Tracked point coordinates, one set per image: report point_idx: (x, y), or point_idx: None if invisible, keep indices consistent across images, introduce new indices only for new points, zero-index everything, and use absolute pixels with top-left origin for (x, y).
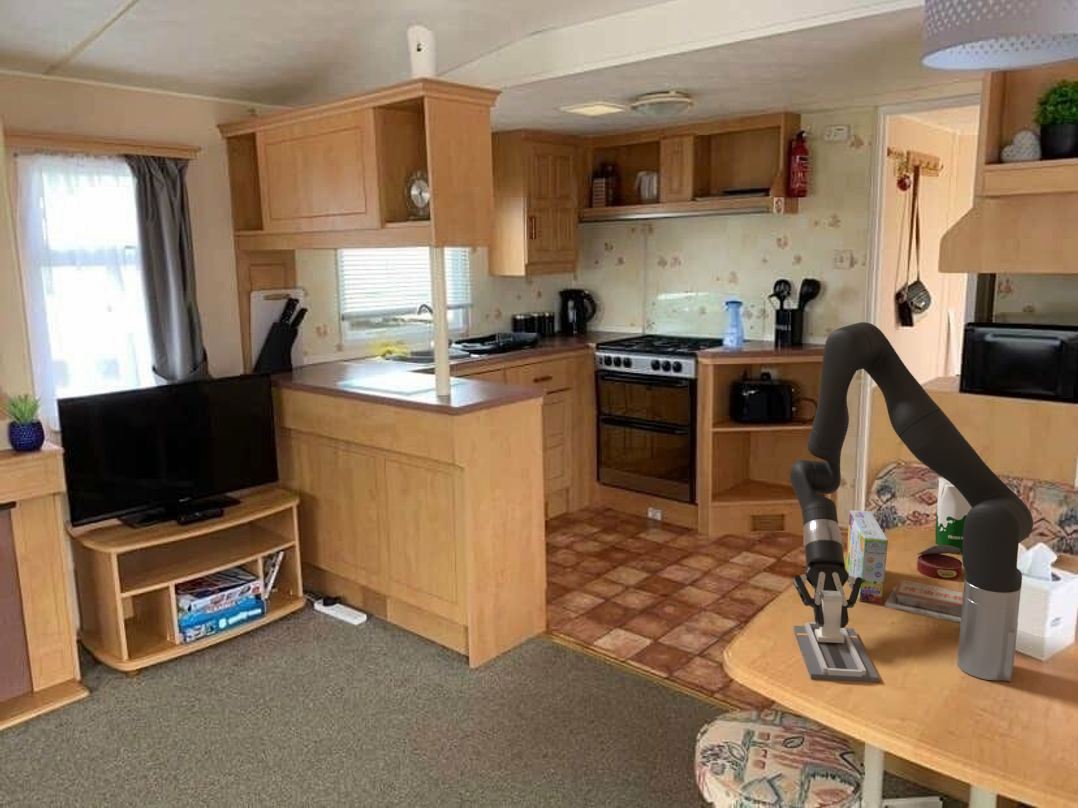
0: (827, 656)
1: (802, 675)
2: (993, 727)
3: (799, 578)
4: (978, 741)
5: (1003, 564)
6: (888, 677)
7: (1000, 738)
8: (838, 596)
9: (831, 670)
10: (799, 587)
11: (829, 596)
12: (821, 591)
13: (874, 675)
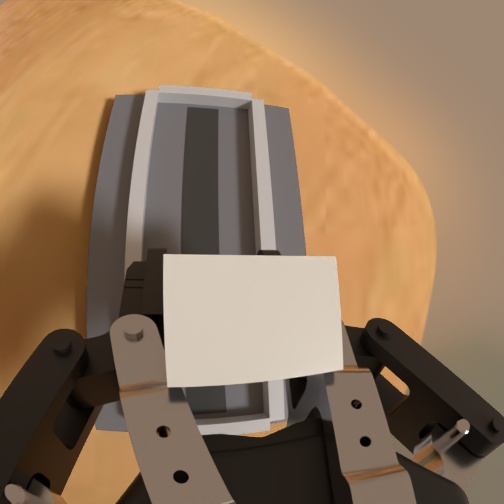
0: (230, 194)
1: (301, 132)
2: (14, 31)
3: (486, 424)
4: (60, 3)
5: None
6: (79, 130)
7: (27, 15)
8: (201, 256)
9: (242, 92)
10: (456, 376)
11: (286, 256)
12: (339, 363)
13: (122, 103)
